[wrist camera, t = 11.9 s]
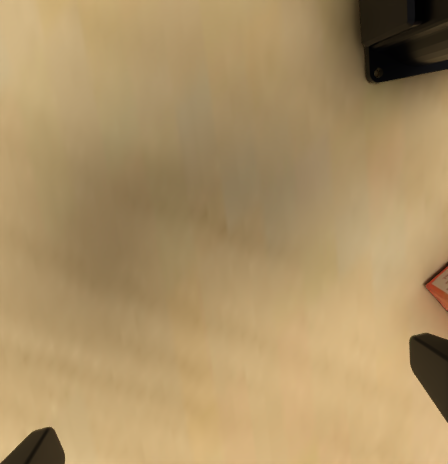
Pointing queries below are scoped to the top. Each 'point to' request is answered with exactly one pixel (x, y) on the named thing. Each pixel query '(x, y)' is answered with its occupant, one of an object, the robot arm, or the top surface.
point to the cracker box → (440, 287)
